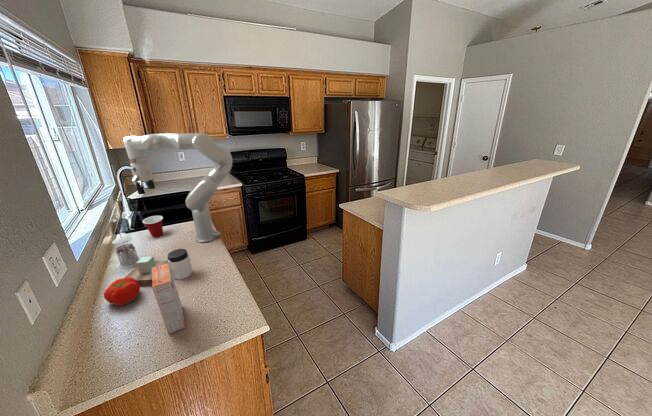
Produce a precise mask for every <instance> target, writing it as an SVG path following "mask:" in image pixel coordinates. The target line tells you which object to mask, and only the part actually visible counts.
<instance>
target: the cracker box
mask: <svg viewBox="0 0 652 416" xmlns="http://www.w3.org/2000/svg"><path fill="white" fill-rule="evenodd" d="M151 286H152V290H153V293H154V297H155V300H156V302H157V305H158V308H159V311H160V314H161V317H162V320H163V322H164V325H165V326H164V327H165V329H166V331H167V334H168V335H171V334H173V333H177V332H178V331H180V330H183V329H185V328H186V322H185V315H184V310H183V305H182V302H181V299H180V298H181V297H180V296H179V293H178V289H177V286H176V282H175V279H174V278H173V275H172V272H171V269H170V266H169V263H167V264H163V265H160V266H156V267H153V268H152V285H151Z"/></svg>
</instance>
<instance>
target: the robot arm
mask: <svg viewBox="0 0 652 416" xmlns="http://www.w3.org/2000/svg"><path fill="white" fill-rule="evenodd" d="M122 140H123V141H122V142H123V144H124V147H125V151H126V154H127V157H128V161H129V165H130V167H131V172H132V173H131V174H132V180H131V183H133V186H134V187H135V188H136V190H137V194H139V195H146V192H145V188H144V186H143V184H144V183H147V187H148V189H149V190H153V189H156V185H155V182H154V172H153V171H152V168H151V166H150V163H149V161H148V160H147V156H146V153H145V151H153V150H156V149H160V148H162V149H163V148H164V149H165V148H172V149H173V148H174V149H177V150H182V151H183V150H184V151H185V150H197V151H198V152H199V153H200V154H201V155H203V156H205V157H206V158H207V159H208V160H209V161H212V162H213V163H214V166H212V168H211V169H210V170H209V171H208V173H206V175H205V176H204V177H202V178H201V180H200V181H199V183H198V184H197V185H196V186H195V187H194V189H192V190H191V191H190V192H189V193H188V194H187V196H186V198H185V202H184V203H185V205H186V207H187V209H189V210H190V211H191V214H192V215H191V216H192V218H193V223H194V227H195V231H196V232H195V233H196V235H197V236H195V238H194V241H195V242H196V243H201V244H202V243H203V244H204V243H209V242H212V241H214V240H216V239H217V238H218V236H219V237H221V235H222V233H221V231H217V230H216V229H215V228H214V225H213V222H212V216H211V211H210V205H209V201H210V199H212V197H213V196H214V195H215V194H216V192H217V190H218V187H219V186H220V185H221V183H222V182H223V181H224V180H225V178H226V177H227V176H228V175H229V173H230V171H231V170H232V167H233V156H232V154H231V151H230V150H229V148H227V147H225V146H219V145H217V144H216V143H215V142H213V141H212V138H211V136H210V135H209V134H207V133H205V132H191V133H189V132H188V133H187V132H186V133H185V132H184V133H182V132H181V133H179V132H178V133H150V134H149V133H148V134H145V135H142V136H137V135H130V136H129V135H128V136H124V137H123V139H122Z"/></svg>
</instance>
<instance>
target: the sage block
mask: <svg viewBox="0 0 652 416" xmlns="http://www.w3.org/2000/svg"><path fill="white" fill-rule="evenodd" d="M136 264H137V265H136V266H137V267H138V270H139V273H140V274H141V273H151V272H152V268H153V267H156V264H155V258H154V256H142V257H141V258H140V260H138V261H137V262H136Z"/></svg>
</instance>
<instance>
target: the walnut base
mask: <svg viewBox="0 0 652 416" xmlns="http://www.w3.org/2000/svg"><path fill="white" fill-rule="evenodd" d="M154 261H155V260H154ZM168 261H169V260H168V259H167V260H156V261H155V264H156V266H160V265H163V264H167V263H168ZM126 277H131V278H134V279H135V280H137V281H138V283H139V287H144V286H152V272H151V273H141V274H140V273H139V270H138V267H137V265H135V267H134V268H133V269H132V270H131V271H129V272H128V273H127V274H126V275H125V276H124V277H123V278H124V279H125V278H126Z"/></svg>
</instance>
